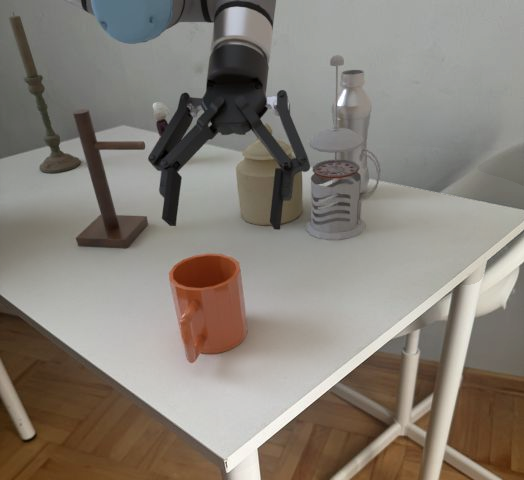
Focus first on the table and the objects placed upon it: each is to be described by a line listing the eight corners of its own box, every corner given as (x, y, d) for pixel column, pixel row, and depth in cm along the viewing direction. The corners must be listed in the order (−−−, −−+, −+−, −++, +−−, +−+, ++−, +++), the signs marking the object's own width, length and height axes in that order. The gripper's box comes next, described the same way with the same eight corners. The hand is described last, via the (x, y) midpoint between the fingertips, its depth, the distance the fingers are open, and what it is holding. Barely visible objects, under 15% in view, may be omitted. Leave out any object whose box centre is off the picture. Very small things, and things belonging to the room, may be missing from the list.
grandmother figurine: (153, 162, 120) (141, 101, 112) (168, 157, 121) (157, 97, 113) (170, 170, 115) (159, 107, 107) (185, 165, 116) (175, 103, 108)
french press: (313, 211, 93) (310, 48, 77) (380, 215, 90) (392, 46, 74) (298, 237, 86) (292, 63, 70) (371, 243, 82) (382, 62, 67)
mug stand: (77, 245, 89) (37, 120, 77) (102, 222, 96) (69, 103, 84) (152, 249, 86) (123, 119, 74) (172, 224, 93) (148, 102, 81)
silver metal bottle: (362, 201, 95) (367, 77, 82) (326, 197, 97) (326, 76, 85) (372, 187, 99) (379, 67, 87) (337, 184, 102) (339, 67, 89)
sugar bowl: (218, 204, 98) (207, 119, 89) (269, 188, 103) (263, 105, 93) (262, 232, 88) (254, 138, 79) (316, 213, 92) (314, 122, 83)
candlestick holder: (84, 157, 126) (42, 7, 107) (76, 171, 119) (29, 12, 100) (45, 161, 126) (-4, 11, 107) (35, 175, 119) (-19, 17, 100)
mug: (194, 312, 71) (183, 252, 66) (254, 317, 69) (247, 255, 64) (159, 373, 62) (143, 308, 56) (227, 380, 60) (217, 314, 54)
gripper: (341, 75, 68) (325, 237, 66) (159, 81, 74) (140, 230, 72) (336, 35, 61) (318, 215, 59) (135, 45, 66) (113, 210, 65)
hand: (220, 224), depth 65 cm, fingers open, 13 cm apart
